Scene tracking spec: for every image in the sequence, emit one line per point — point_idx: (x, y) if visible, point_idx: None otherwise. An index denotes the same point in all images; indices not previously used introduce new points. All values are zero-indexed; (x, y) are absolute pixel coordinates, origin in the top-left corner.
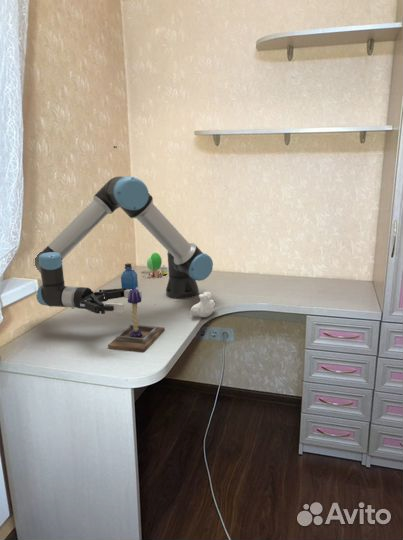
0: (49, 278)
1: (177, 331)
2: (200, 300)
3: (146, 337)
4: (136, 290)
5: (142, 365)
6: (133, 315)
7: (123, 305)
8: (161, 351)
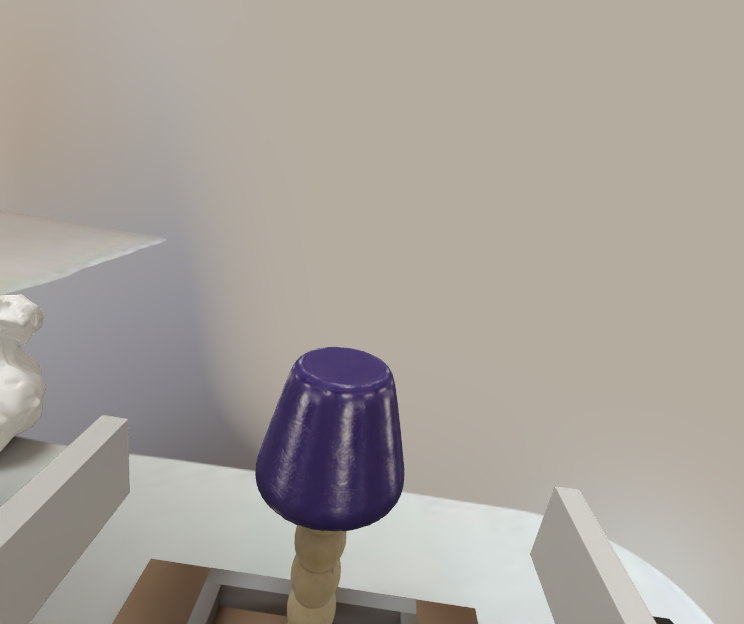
0: None
1: (185, 509)
2: None
3: (385, 595)
4: (351, 351)
5: None
6: (332, 603)
7: (558, 498)
8: (429, 541)
